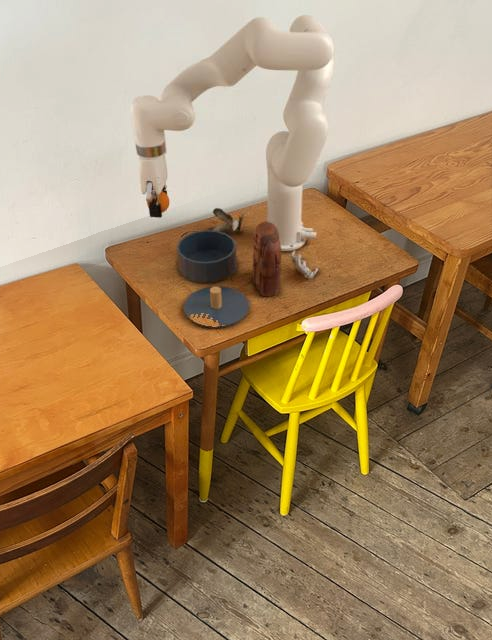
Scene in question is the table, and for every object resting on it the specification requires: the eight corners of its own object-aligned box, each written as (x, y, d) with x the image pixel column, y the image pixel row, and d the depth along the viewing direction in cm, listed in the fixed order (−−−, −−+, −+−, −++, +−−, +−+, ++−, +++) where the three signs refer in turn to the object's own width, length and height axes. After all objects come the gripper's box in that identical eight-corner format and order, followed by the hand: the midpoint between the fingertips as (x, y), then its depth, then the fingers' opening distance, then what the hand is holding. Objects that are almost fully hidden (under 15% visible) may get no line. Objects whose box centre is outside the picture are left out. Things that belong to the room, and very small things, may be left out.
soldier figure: (308, 261, 205) (329, 272, 195) (299, 275, 205) (319, 287, 195) (289, 246, 201) (309, 256, 191) (279, 261, 201) (298, 272, 191)
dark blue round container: (240, 252, 207) (240, 232, 202) (230, 285, 195) (230, 265, 191) (186, 247, 208) (184, 228, 204) (173, 280, 197) (171, 260, 193)
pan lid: (253, 292, 193) (253, 273, 189) (242, 332, 181) (242, 313, 177) (191, 287, 195) (190, 268, 191) (177, 326, 183) (175, 307, 179)
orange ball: (173, 206, 199) (170, 186, 195) (167, 218, 195) (165, 198, 191) (151, 205, 200) (148, 185, 196) (145, 216, 195) (142, 196, 191)
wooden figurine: (248, 273, 199) (247, 215, 187) (271, 270, 200) (272, 212, 188) (260, 299, 191) (260, 240, 179) (284, 295, 192) (285, 236, 180)
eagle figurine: (242, 219, 217) (212, 213, 217) (245, 208, 210) (213, 202, 210) (238, 242, 215) (208, 236, 215) (240, 233, 209) (209, 226, 208)
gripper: (145, 131, 191) (153, 193, 204) (127, 163, 179) (137, 226, 191) (173, 132, 190) (180, 194, 203) (157, 164, 178) (165, 228, 190)
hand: (159, 209), depth 197 cm, fingers closed on orange ball, 5 cm apart
